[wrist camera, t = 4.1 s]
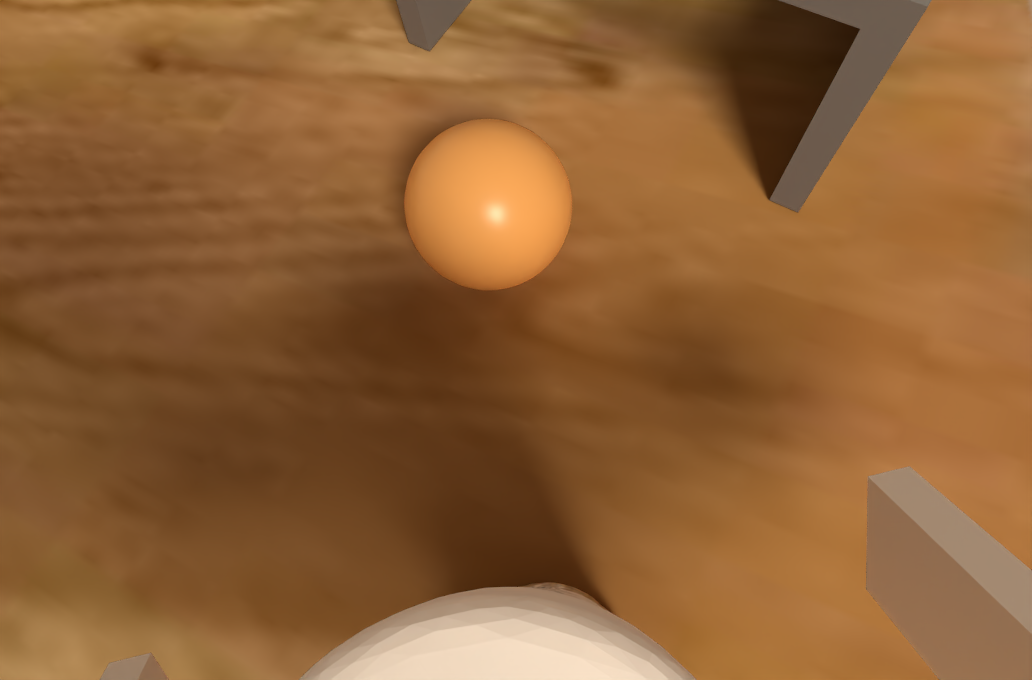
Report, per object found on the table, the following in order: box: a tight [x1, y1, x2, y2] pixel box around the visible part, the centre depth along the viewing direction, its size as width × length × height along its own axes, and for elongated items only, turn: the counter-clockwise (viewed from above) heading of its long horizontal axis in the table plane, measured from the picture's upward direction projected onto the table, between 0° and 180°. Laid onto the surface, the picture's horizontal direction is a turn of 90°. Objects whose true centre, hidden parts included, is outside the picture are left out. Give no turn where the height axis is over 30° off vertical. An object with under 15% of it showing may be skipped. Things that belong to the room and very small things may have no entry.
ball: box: [404, 119, 572, 290], centre depth 19 cm, size 5×5×5 cm
